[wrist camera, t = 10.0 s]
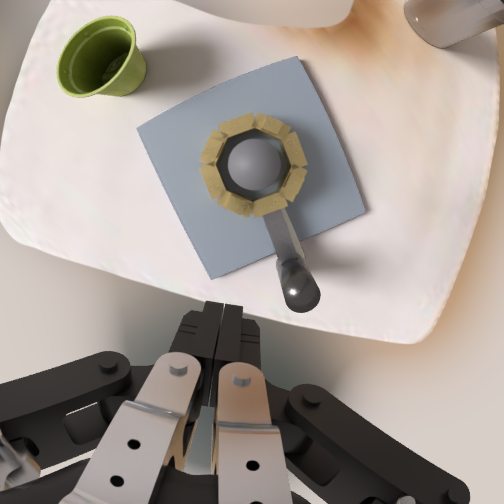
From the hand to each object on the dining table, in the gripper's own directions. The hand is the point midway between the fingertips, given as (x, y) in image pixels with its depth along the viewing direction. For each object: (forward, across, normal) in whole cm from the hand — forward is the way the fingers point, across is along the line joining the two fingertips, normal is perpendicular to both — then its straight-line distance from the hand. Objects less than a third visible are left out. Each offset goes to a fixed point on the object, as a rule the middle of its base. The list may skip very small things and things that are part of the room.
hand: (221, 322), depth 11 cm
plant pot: (+22, +17, -16) cm, 33 cm away
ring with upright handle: (+21, -2, -2) cm, 21 cm away
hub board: (+22, -1, -5) cm, 23 cm away
